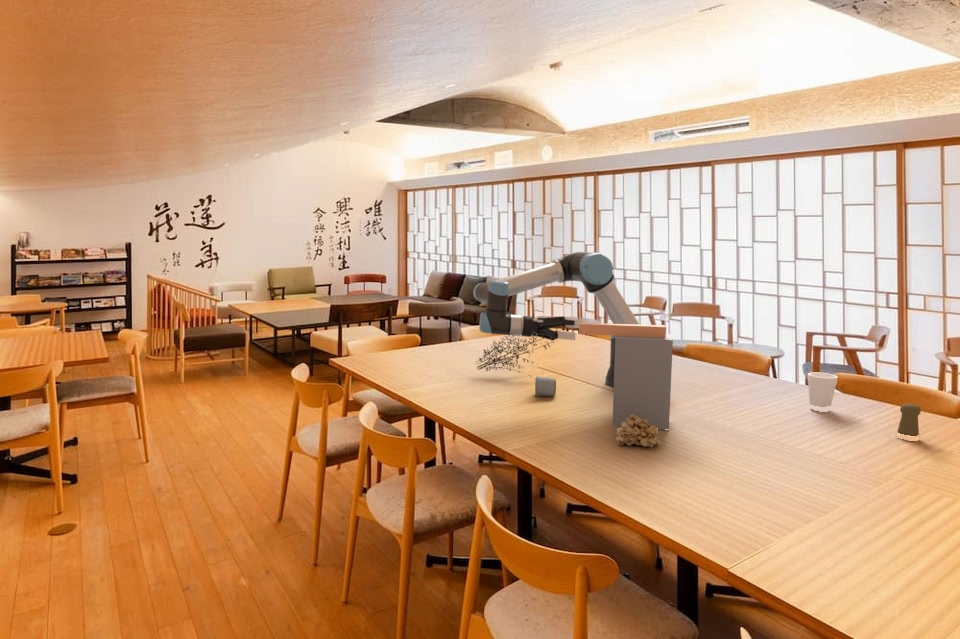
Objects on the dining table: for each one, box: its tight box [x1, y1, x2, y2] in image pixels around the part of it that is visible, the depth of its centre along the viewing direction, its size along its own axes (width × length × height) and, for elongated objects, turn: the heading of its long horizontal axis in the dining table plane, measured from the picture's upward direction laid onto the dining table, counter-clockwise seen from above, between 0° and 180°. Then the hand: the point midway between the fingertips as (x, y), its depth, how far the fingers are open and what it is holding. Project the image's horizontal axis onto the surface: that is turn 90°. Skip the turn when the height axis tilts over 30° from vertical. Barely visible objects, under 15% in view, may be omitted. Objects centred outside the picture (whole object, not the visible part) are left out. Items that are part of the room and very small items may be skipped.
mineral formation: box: [615, 414, 662, 448], centre depth 188 cm, size 8×13×15 cm
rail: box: [578, 322, 667, 338], centre depth 205 cm, size 28×4×4 cm, turn 76°
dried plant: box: [475, 327, 565, 378], centre depth 271 cm, size 30×31×45 cm
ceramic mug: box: [534, 376, 557, 397], centre depth 243 cm, size 11×8×8 cm
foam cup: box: [807, 371, 838, 407], centre depth 221 cm, size 10×9×13 cm
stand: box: [612, 333, 674, 430], centre depth 205 cm, size 18×12×30 cm, turn 76°
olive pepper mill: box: [896, 403, 922, 436], centre depth 191 cm, size 6×6×11 cm
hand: (579, 330), depth 225 cm, fingers open, 13 cm apart
